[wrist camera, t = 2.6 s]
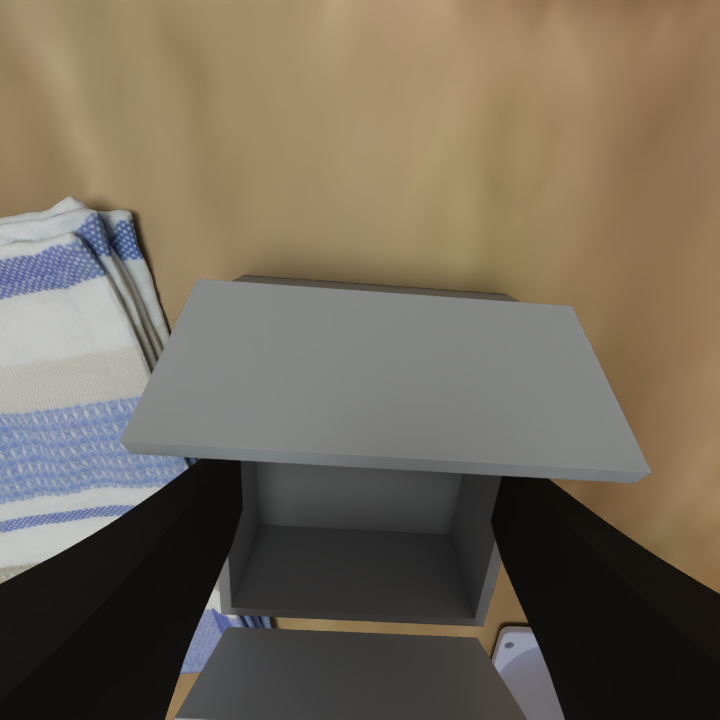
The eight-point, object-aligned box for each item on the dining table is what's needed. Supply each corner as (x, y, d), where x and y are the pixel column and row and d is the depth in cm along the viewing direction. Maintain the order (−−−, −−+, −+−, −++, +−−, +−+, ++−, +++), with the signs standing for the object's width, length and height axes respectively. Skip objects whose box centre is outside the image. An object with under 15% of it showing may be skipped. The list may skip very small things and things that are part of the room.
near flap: (634, 483, 7) (651, 472, 7) (130, 453, 7) (119, 441, 6) (562, 320, 10) (571, 306, 10) (202, 294, 10) (197, 278, 9)
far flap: (477, 637, 14) (476, 652, 14) (226, 626, 14) (225, 641, 14) (534, 731, 10) (535, 754, 10) (174, 718, 10) (171, 741, 10)
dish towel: (138, 191, 14) (86, 185, 11) (291, 629, 22) (282, 685, 19) (-284, 276, 15) (-423, 289, 12) (13, 664, 23) (-31, 722, 20)
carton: (455, 534, 19) (483, 626, 15) (252, 524, 18) (221, 614, 14) (505, 294, 15) (565, 325, 10) (244, 275, 14) (196, 298, 10)
